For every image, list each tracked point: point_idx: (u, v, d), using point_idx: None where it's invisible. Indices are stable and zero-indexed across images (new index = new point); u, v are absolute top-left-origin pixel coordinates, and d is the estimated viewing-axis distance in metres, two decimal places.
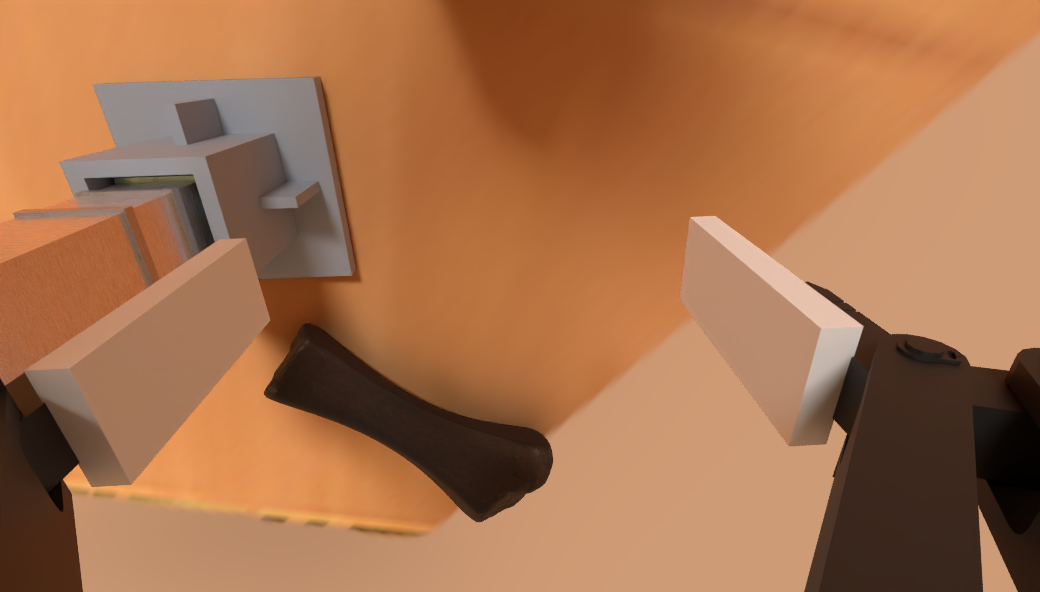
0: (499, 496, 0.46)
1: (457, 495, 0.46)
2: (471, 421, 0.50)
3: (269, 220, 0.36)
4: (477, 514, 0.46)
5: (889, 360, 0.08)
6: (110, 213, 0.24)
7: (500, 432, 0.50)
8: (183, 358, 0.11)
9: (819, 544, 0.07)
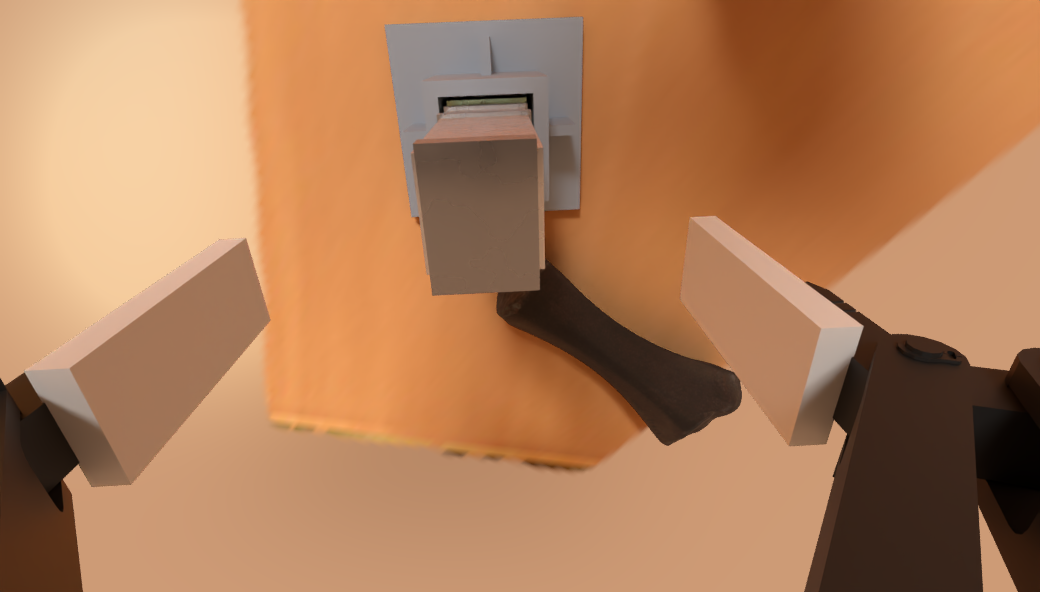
0: (705, 415, 0.49)
1: (664, 414, 0.50)
2: None
3: None
4: (681, 432, 0.50)
5: (889, 360, 0.08)
6: (519, 114, 0.28)
7: None
8: (183, 358, 0.11)
9: (819, 544, 0.07)
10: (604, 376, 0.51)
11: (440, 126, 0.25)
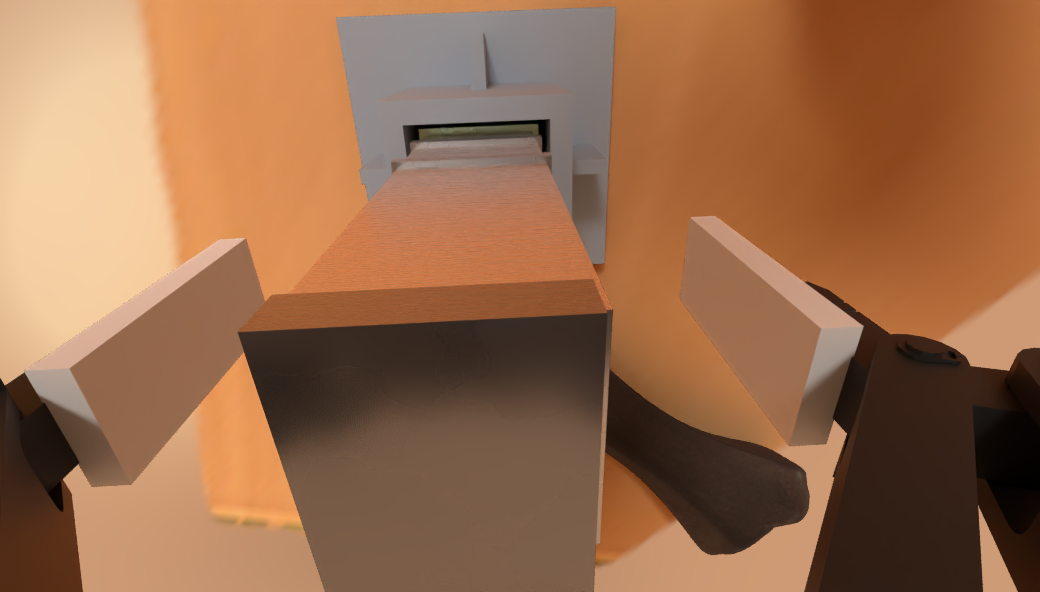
0: (766, 528, 0.38)
1: (711, 525, 0.38)
2: (707, 434, 0.42)
3: None
4: (733, 549, 0.38)
5: (889, 360, 0.08)
6: (531, 162, 0.17)
7: (744, 449, 0.42)
8: (183, 358, 0.11)
9: (819, 544, 0.07)
10: (633, 471, 0.40)
11: (388, 194, 0.13)
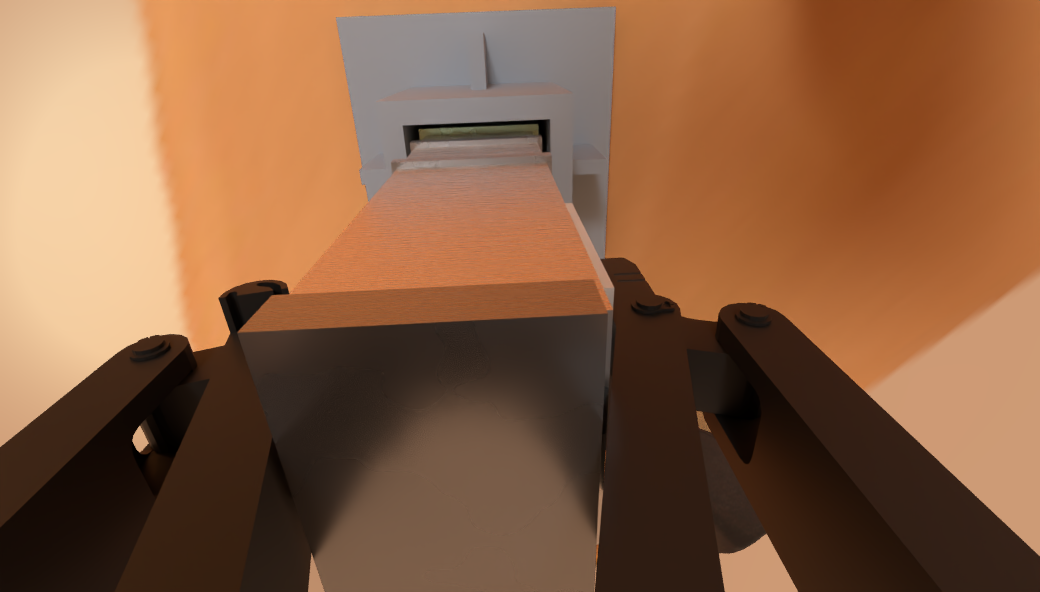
0: None
1: None
2: (708, 433, 0.42)
3: None
4: (733, 548, 0.38)
5: (627, 318, 0.09)
6: (532, 162, 0.17)
7: None
8: None
9: None
10: None
11: (387, 194, 0.13)
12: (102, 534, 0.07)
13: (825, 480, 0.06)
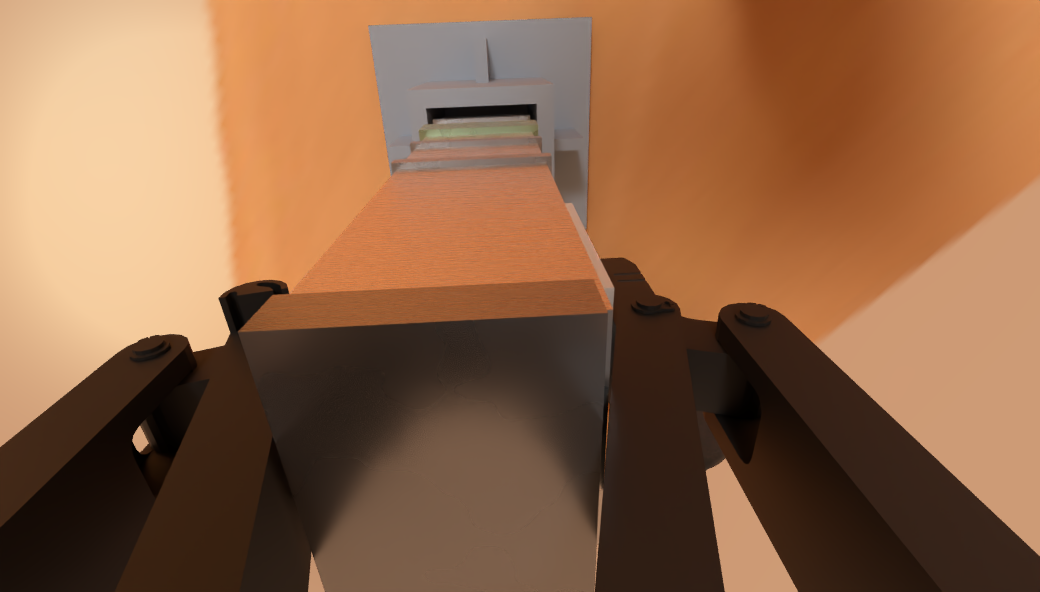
0: None
1: None
2: None
3: None
4: None
5: (627, 318, 0.09)
6: (531, 163, 0.17)
7: None
8: None
9: None
10: None
11: (388, 195, 0.13)
12: (102, 534, 0.07)
13: (826, 480, 0.06)
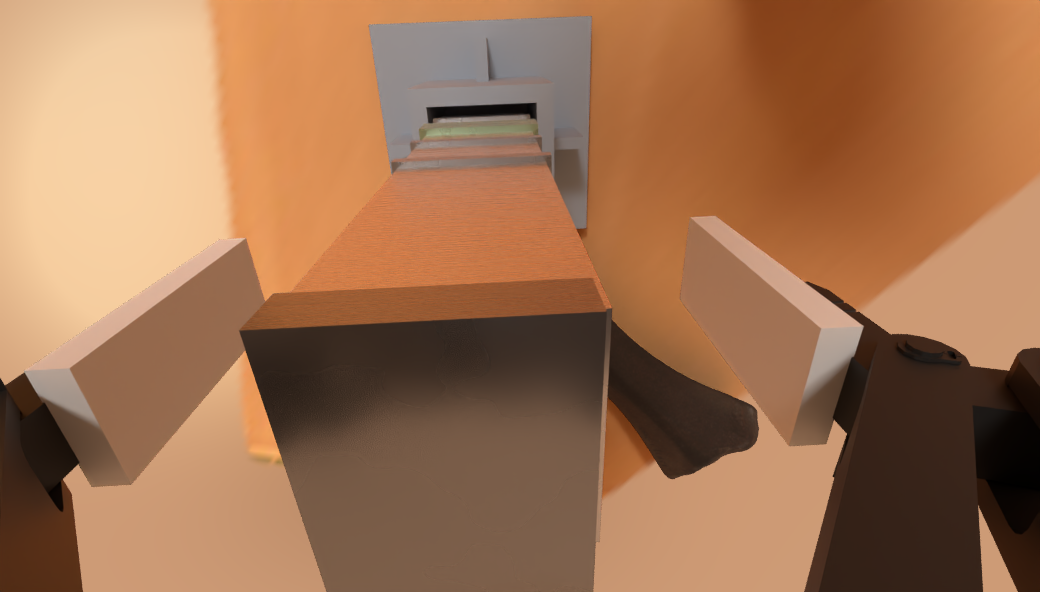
0: (720, 450, 0.45)
1: (675, 446, 0.45)
2: None
3: None
4: (692, 467, 0.45)
5: (889, 359, 0.08)
6: (531, 162, 0.17)
7: None
8: (183, 358, 0.11)
9: (819, 544, 0.07)
10: (612, 398, 0.46)
11: (388, 194, 0.13)
12: None
13: None
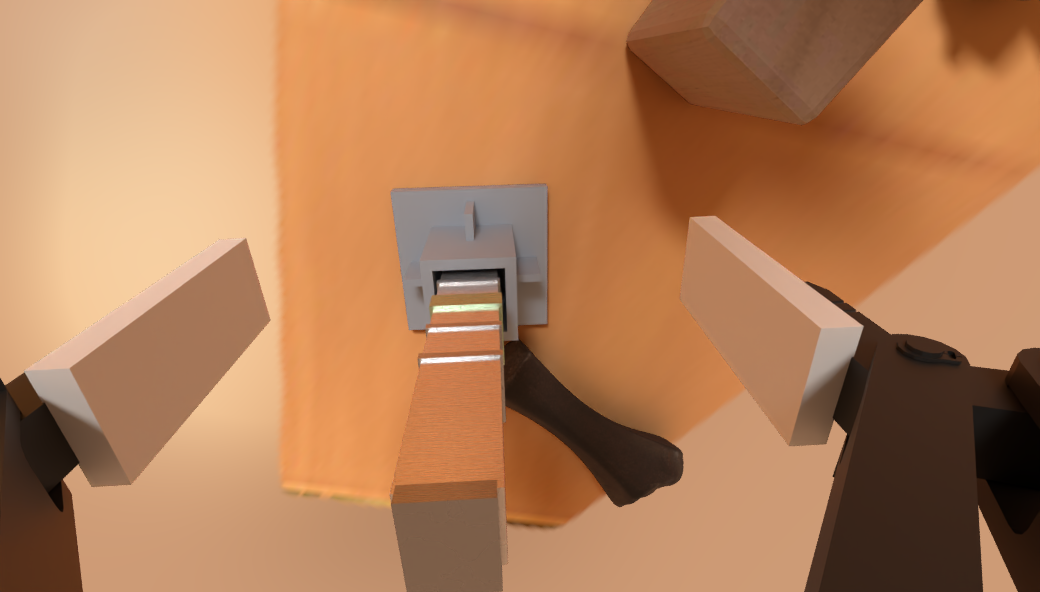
0: (651, 486, 0.59)
1: (617, 483, 0.59)
2: (621, 425, 0.63)
3: None
4: (631, 499, 0.60)
5: (888, 360, 0.08)
6: (492, 358, 0.31)
7: (644, 436, 0.63)
8: (183, 358, 0.11)
9: (819, 544, 0.07)
10: (570, 446, 0.60)
11: (419, 394, 0.28)
12: None
13: None
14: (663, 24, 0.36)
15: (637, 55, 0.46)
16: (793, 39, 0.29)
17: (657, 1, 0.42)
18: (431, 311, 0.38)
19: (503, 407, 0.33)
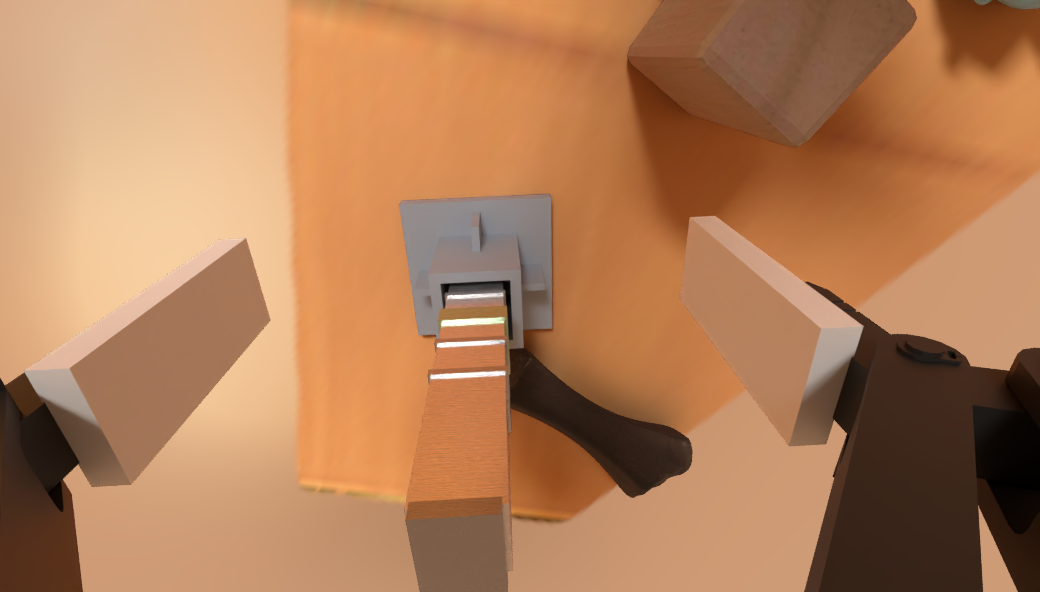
0: (660, 477, 0.60)
1: (627, 475, 0.61)
2: (628, 419, 0.65)
3: None
4: (641, 490, 0.61)
5: (888, 360, 0.08)
6: (498, 374, 0.33)
7: (652, 428, 0.64)
8: (183, 358, 0.11)
9: (819, 544, 0.07)
10: (578, 443, 0.62)
11: (430, 410, 0.30)
12: None
13: None
14: (661, 46, 0.37)
15: (638, 69, 0.47)
16: (784, 68, 0.30)
17: (657, 18, 0.43)
18: (440, 325, 0.40)
19: (509, 418, 0.35)
